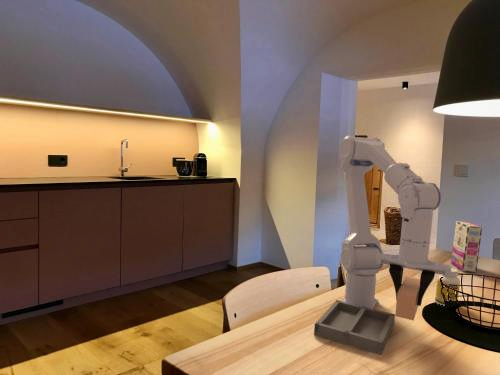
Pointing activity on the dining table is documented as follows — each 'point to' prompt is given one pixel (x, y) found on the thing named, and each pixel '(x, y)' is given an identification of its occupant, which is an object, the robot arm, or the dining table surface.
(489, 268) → the dining table surface
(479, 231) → the candy bar box
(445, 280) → the supplement bottle
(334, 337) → the grey divided tray
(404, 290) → the tan rectangular block
